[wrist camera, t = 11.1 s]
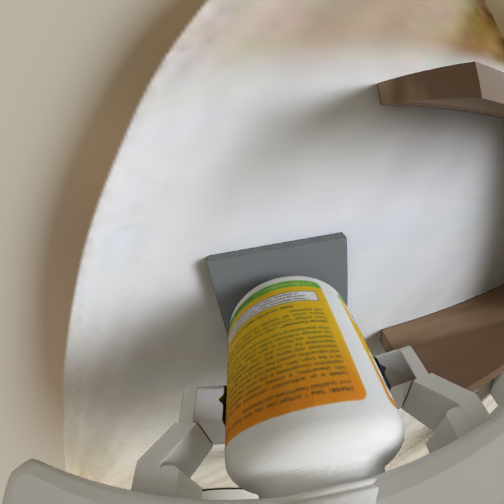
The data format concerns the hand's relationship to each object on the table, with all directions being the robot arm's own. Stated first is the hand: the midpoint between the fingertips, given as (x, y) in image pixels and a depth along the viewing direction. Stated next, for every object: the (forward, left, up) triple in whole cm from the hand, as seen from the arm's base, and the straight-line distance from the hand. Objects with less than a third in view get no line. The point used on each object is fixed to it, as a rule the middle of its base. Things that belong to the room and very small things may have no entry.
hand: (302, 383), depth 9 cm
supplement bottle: (0, 0, -4) cm, 4 cm away
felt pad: (0, 0, -5) cm, 5 cm away
